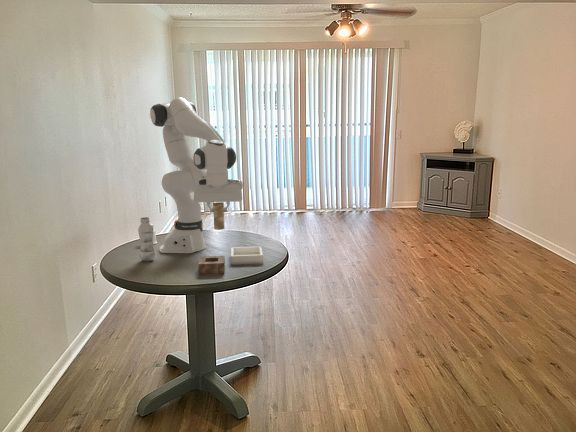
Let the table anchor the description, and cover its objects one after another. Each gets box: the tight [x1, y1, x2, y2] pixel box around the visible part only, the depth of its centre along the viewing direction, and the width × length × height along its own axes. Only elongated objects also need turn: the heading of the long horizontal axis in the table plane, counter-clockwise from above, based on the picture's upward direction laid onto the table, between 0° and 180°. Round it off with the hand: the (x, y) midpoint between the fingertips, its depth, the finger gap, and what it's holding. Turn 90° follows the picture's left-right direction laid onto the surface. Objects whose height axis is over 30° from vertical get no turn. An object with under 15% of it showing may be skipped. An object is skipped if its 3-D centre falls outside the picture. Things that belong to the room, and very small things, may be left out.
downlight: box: [149, 223, 158, 245], centre depth 245 cm, size 8×7×10 cm
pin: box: [212, 202, 225, 231], centre depth 202 cm, size 4×4×11 cm
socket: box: [197, 255, 226, 277], centre depth 202 cm, size 10×10×5 cm
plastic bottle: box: [137, 216, 156, 262], centre depth 215 cm, size 6×7×20 cm
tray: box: [230, 245, 264, 266], centre depth 218 cm, size 14×14×4 cm
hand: (218, 212), depth 201 cm, fingers closed on pin, 4 cm apart
